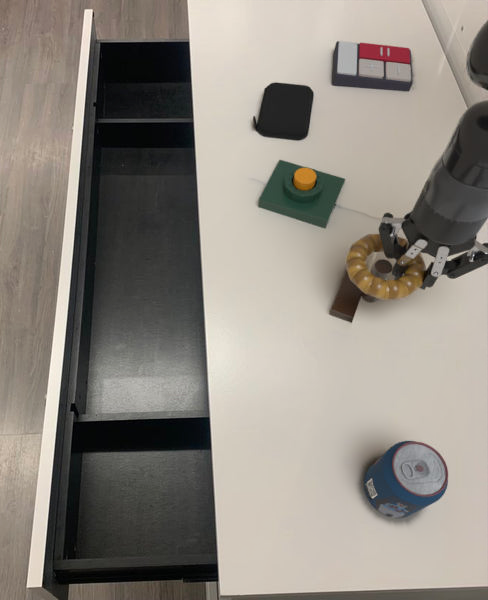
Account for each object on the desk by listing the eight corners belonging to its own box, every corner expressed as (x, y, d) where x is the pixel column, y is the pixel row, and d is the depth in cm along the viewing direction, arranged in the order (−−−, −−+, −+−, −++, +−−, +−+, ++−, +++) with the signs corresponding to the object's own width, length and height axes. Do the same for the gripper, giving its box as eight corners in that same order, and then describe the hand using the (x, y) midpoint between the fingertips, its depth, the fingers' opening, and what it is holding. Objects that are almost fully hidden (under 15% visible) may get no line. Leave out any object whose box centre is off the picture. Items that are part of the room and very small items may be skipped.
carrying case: (260, 89, 107) (249, 140, 100) (261, 76, 104) (249, 127, 97) (313, 95, 106) (306, 147, 98) (315, 82, 103) (308, 134, 96)
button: (317, 178, 89) (319, 171, 88) (310, 193, 88) (312, 186, 86) (297, 172, 90) (298, 165, 89) (290, 187, 89) (291, 179, 87)
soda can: (405, 459, 69) (439, 431, 58) (425, 515, 65) (465, 496, 55) (353, 467, 68) (377, 441, 58) (371, 524, 65) (400, 507, 55)
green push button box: (342, 187, 93) (347, 171, 89) (325, 228, 88) (329, 213, 85) (278, 168, 96) (280, 151, 92) (258, 207, 91) (259, 191, 88)
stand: (403, 288, 82) (424, 252, 74) (388, 336, 78) (408, 303, 70) (346, 269, 84) (360, 232, 76) (329, 314, 80) (342, 280, 72)
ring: (428, 255, 75) (435, 243, 72) (411, 313, 70) (418, 303, 68) (356, 232, 77) (360, 220, 75) (335, 287, 73) (338, 276, 70)
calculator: (414, 80, 101) (335, 71, 102) (406, 99, 105) (330, 90, 106) (412, 45, 106) (337, 37, 108) (404, 64, 110) (332, 56, 111)
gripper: (533, 188, 58) (468, 275, 73) (404, 153, 61) (367, 243, 76) (523, 239, 54) (457, 319, 69) (387, 198, 58) (352, 283, 73)
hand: (410, 279), depth 73 cm, fingers closed on ring, 2 cm apart
